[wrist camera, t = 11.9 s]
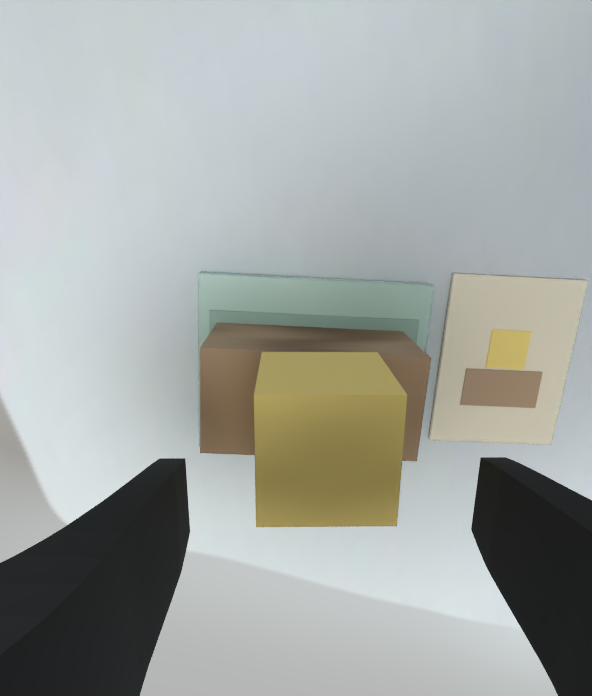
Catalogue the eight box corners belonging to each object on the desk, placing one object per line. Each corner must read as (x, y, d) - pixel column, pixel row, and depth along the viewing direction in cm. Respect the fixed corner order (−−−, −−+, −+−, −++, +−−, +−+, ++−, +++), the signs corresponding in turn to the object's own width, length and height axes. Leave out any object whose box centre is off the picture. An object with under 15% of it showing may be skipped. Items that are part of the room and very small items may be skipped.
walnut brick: (402, 331, 20) (430, 358, 16) (392, 416, 21) (416, 460, 17) (217, 322, 19) (200, 347, 16) (216, 409, 20) (200, 453, 17)
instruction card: (585, 280, 20) (588, 280, 20) (548, 442, 22) (551, 445, 22) (452, 273, 20) (454, 273, 20) (428, 438, 22) (430, 440, 22)
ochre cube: (377, 352, 16) (407, 394, 12) (371, 455, 17) (396, 526, 13) (261, 351, 16) (253, 394, 12) (263, 456, 17) (256, 526, 13)
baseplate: (428, 283, 20) (435, 286, 19) (407, 446, 22) (412, 456, 21) (201, 271, 20) (197, 274, 19) (201, 438, 22) (198, 448, 21)
